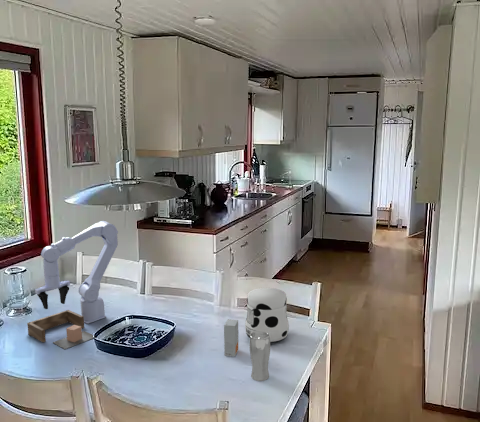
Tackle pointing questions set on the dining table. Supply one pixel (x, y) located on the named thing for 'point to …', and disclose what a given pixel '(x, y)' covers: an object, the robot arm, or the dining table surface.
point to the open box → (40, 325)
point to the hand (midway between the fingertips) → (54, 306)
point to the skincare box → (231, 338)
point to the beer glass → (260, 355)
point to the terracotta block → (74, 333)
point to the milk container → (267, 313)
